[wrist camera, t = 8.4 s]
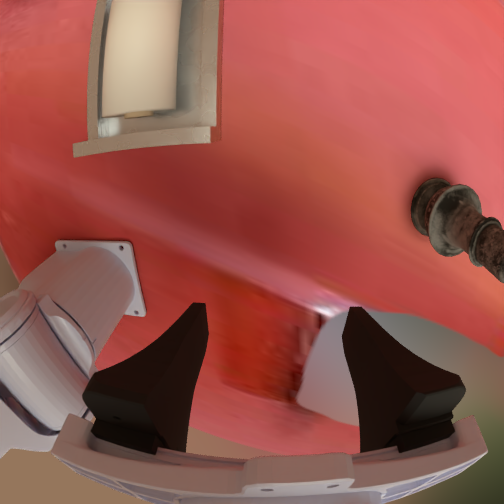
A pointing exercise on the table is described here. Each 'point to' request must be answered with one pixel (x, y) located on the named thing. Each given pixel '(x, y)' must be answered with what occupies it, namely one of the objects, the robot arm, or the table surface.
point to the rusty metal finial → (458, 224)
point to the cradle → (187, 87)
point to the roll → (141, 58)
